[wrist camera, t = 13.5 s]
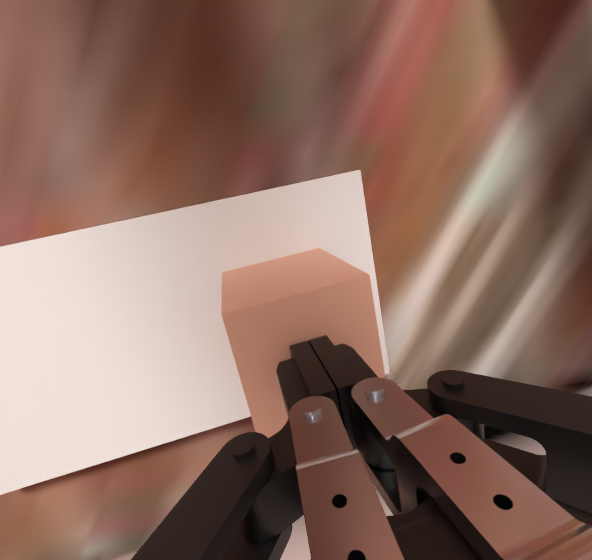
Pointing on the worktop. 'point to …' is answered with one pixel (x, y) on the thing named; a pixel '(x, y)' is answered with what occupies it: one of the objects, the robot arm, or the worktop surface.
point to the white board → (146, 322)
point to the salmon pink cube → (294, 321)
